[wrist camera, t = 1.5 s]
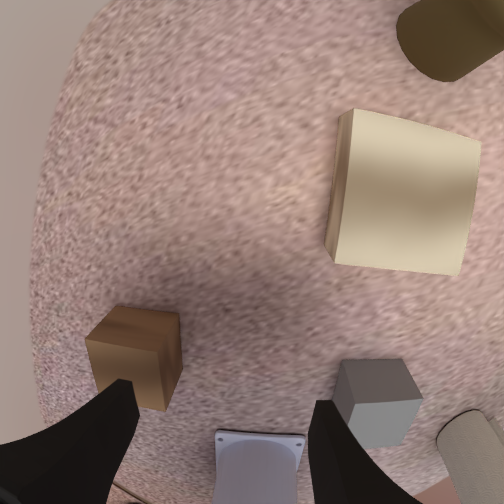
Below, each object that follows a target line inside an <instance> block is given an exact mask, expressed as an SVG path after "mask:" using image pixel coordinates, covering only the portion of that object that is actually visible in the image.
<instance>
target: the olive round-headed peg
mask: <svg viewBox="0 0 504 504" xmlns="http://www.w3.org/2000/svg"><path fill="white" fill-rule="evenodd" d="M396 29H397V38H398V41H399V43H400V46H401V49H402V51H403V52H404V54H405V55H406V56H407V58H408V59H409V61H410V62H411V63H412V64H413V65H414V66H415V67H416V68H417V69H418V70H419V71H420V72H422V73H423V74H425V75H427V76H428V77H430V78H432V79H435V80H438V81H442V82H453V81H456V80H458V79H460V78H461V77H463V76H465V75H466V74H468V73H469V72H471V71H472V70H474V69H475V68H477V67H478V66H480V65H481V64H483V63H484V62H486V61H487V60H489V59H491V58H492V57H494V56H495V55H497V54H498V53H500V52H501V51H503V50H504V0H420V1H419V2H417V3H415V4H414V5H412V6H410V7H409V8H407V9H405V10H404V11H403V13H402V14H401V15H400V16H399V18H398V22H397V25H396Z"/></svg>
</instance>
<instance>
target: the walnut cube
mask: <svg viewBox="0 0 504 504" xmlns="http://www.w3.org/2000/svg"><path fill="white" fill-rule="evenodd" d="M85 343H86V347H87V351H88V355H89V360H90V363H91V367H92V371H93V375H94V379H95V382H96V386H97V389H98V393H101V392H102V391H103V390H104V389H106V388H107V387H108V386H109V385H111V384H112V383H113V382H114V381H116V380H117V379H118V378H119V379H124V380H129V381H132V384H133V388H134V393H135V397H136V401H137V405H138V406H139V407H144V408H149V409H154V410H159V411H164V412H166V410H167V407H168V405H169V402H170V400H171V397H172V395H173V392H174V390H175V387H176V385H177V382H178V380H179V377H180V375H181V372H182V370H183V366H182V353H181V338H180V321H179V313H170V312H161V311H153V310H145V309H137V308H130V307H123V306H115V307H114V308H113V309H112V310H111V311H110V312H109V313H108V314H107V316H106V317H105V318H104V319H103V320H102V321H101V322H100V323H99V324H98V325H97V326H96V327H95V328H94V329H93V330H92V331H91V332H90V334H89V335H88V336H87V337H86V338H85Z"/></svg>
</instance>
